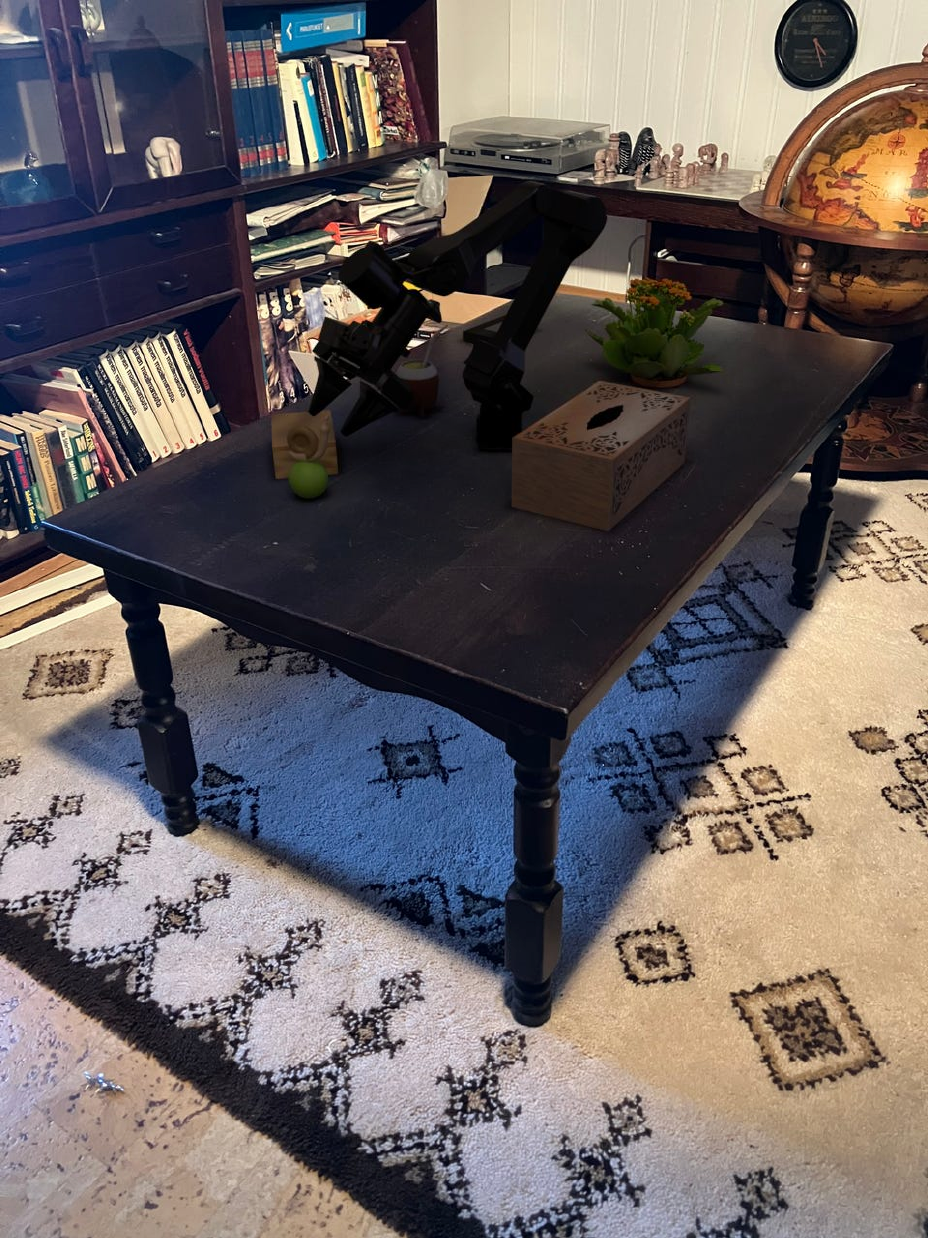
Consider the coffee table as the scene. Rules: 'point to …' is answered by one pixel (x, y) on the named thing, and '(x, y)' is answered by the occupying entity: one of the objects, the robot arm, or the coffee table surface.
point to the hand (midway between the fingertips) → (326, 424)
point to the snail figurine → (308, 460)
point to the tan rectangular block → (281, 448)
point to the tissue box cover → (599, 454)
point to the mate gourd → (421, 382)
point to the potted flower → (655, 334)
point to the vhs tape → (483, 331)
